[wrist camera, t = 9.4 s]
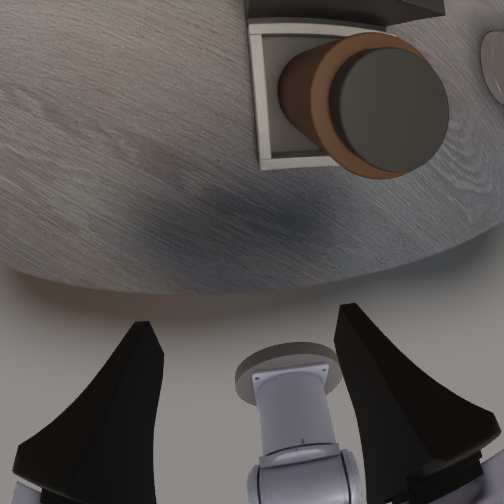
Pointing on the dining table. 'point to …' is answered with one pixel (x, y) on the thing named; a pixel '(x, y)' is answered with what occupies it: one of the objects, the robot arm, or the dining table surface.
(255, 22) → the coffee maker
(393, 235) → the dining table surface
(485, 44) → the cup
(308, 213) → the dining table surface
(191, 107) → the dining table surface
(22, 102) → the dining table surface
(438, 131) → the brown cylinder grey top
